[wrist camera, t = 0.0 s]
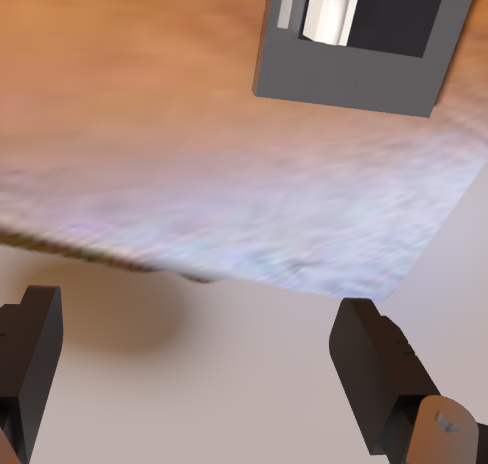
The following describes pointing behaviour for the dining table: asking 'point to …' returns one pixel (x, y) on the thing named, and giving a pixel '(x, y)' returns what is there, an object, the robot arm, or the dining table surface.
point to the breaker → (329, 21)
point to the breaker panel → (361, 55)
